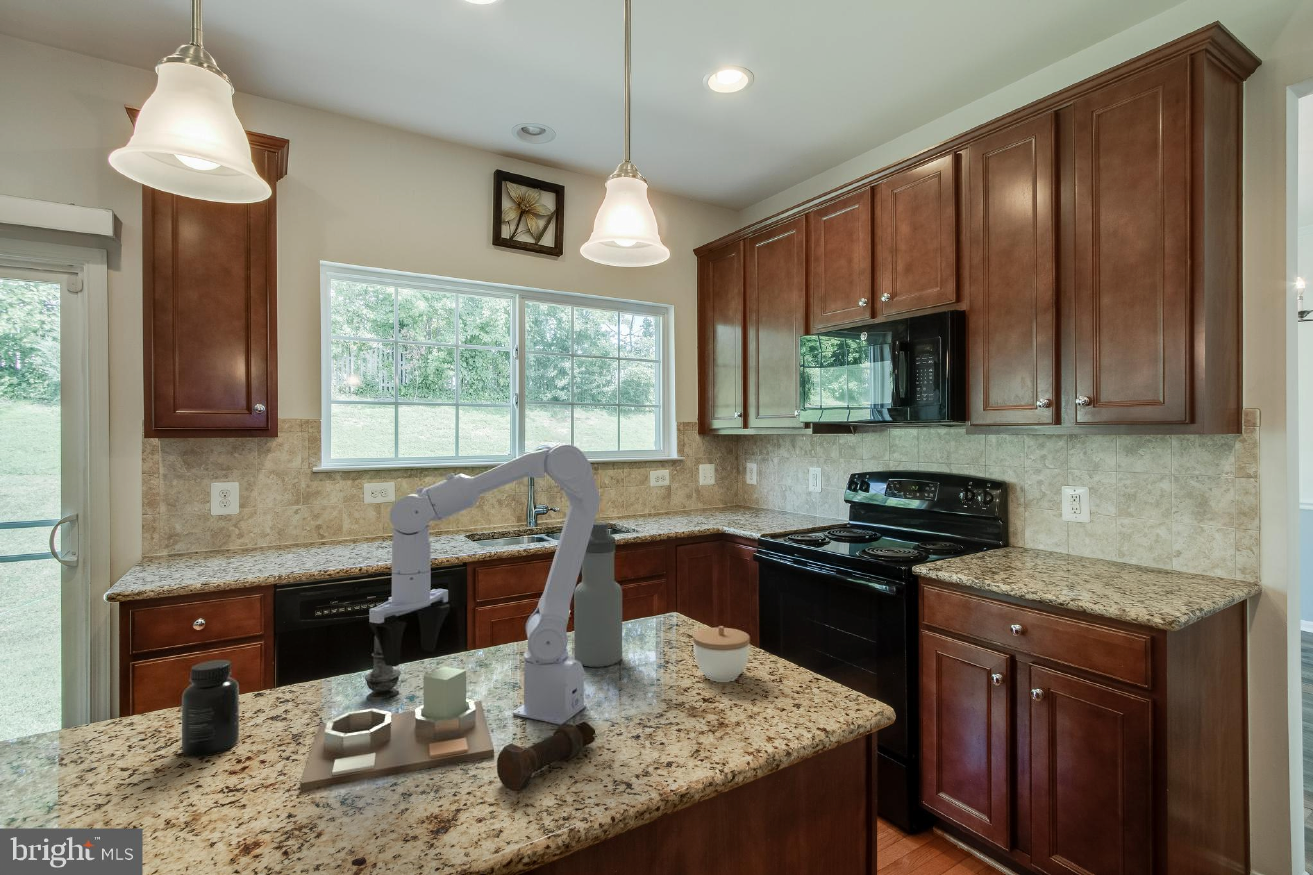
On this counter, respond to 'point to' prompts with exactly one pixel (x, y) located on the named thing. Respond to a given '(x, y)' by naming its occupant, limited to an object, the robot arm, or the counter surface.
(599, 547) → the water bottle
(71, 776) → the counter surface
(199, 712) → the supplement bottle
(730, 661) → the lidded jar
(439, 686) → the sage plug
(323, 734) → the walnut board
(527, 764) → the bolt
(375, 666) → the salt shaker
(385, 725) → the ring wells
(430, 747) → the tags
